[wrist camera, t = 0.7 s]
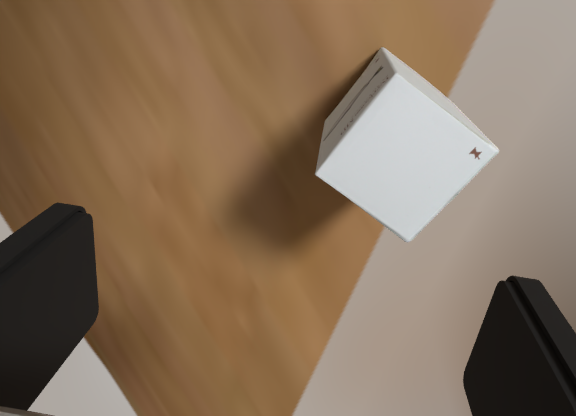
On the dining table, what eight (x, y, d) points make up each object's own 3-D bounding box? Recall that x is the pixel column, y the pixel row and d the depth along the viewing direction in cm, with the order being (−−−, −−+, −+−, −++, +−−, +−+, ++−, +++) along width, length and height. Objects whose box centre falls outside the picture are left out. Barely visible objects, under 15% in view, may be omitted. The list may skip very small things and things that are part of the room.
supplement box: (381, 43, 35) (399, 66, 23) (455, 103, 36) (506, 153, 25) (321, 120, 38) (310, 174, 26) (391, 173, 39) (410, 247, 28)
